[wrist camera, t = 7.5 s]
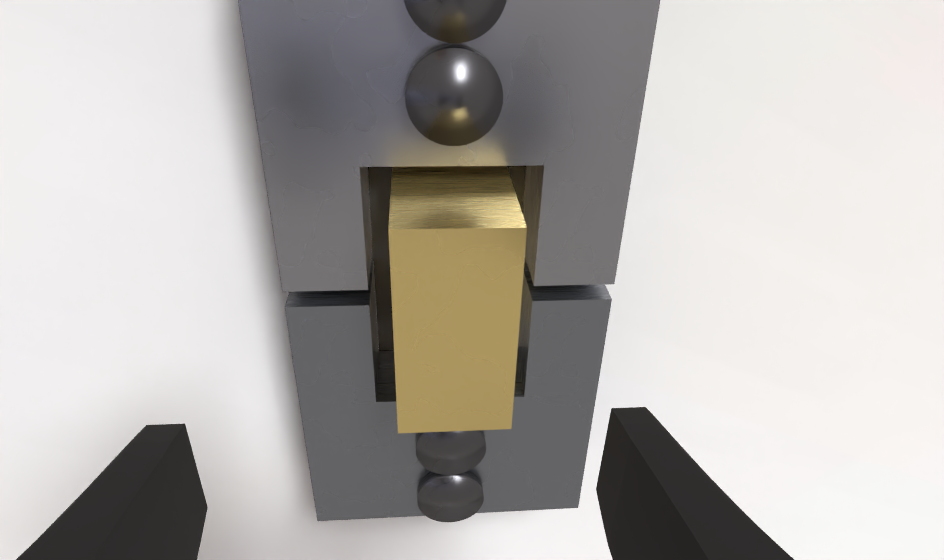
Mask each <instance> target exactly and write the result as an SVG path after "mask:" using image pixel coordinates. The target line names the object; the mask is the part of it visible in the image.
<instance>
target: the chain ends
mask: <svg viewBox="0 0 944 560" xmlns="http://www.w3.org/2000/svg"><path fill="white" fill-rule="evenodd" d="M238 3H239V9H240V16H241V22H242V29H243V35H244V42H245V49H246V55H247V62H248V68H249V75H250V81H251V88H252V94H253V101H254V108H255V114H256V121H257V127H258V134H259V140H260V147H261V153H262V160H263V167H264V173H265V180H266V186H267V193H268V199H269V206H270V212H271V219H272V226H273V232H274V239H275V245H276V252H277V258H278V265H279V271H280V278H281V284H282V291H283V292H289V295H288V299H287V302H286V306H285V311H286V317H287V324H288V330H289V337H290V343H291V350H292V357H293V363H294V370H295V376H296V383H297V389H298V396H299V402H300V409H301V416H302V422H303V429H304V435H305V442H306V448H307V455H308V461H309V468H310V475H311V481H312V488H313V494H314V501H315V507H316V514H317V520H318V521H328V520H348V519H367V518H387V517H407V516H427V517H428V518H430V519H433V520H436V521H440V522H456V521H460V520H464V519H466V518H469V517H471V516H472V515H474V514H475V513H485V512H504V511H524V510H543V509H563V508H578V505H579V498H580V492H581V486H582V480H583V474H584V468H585V461H586V455H587V449H588V443H589V437H590V430H591V424H592V418H593V412H594V406H595V400H596V393H597V387H598V381H599V375H600V369H601V363H602V356H603V350H604V344H605V338H606V332H607V325H608V319H609V313H610V307H611V301H612V299H611V297H610V295H609V292H608V290H607V288H606V286H605V284H614V282H615V276H616V270H617V264H618V258H619V251H620V245H621V239H622V233H623V227H624V220H625V214H626V208H627V202H628V196H629V190H630V183H631V177H632V171H633V165H634V159H635V153H636V146H637V140H638V134H639V128H640V122H641V115H642V109H643V103H644V97H645V91H646V85H647V78H648V72H649V66H650V60H651V54H652V48H653V41H654V35H655V29H656V23H657V17H658V11H659V4H660V0H238ZM412 166H526V175H525V189H524V203H523V217H524V220H525V223H526V226H527V235H526V248H525V261H524V273H523V286H522V299H521V312H520V325H519V338H518V350H517V363H516V376H515V389H514V402H513V414H512V427H511V429H499V430H473V431H447V432H421V433H398V424H397V402H396V381H395V360H394V351H379V337H378V321H377V305H376V290H375V274H374V260H371V256H372V247H373V243H372V227H371V212H370V196H369V181H368V167H412Z"/></svg>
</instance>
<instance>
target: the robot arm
mask: <svg viewBox="0 0 944 560" xmlns="http://www.w3.org/2000/svg"><path fill="white" fill-rule="evenodd" d="M596 491H597V496H598V500H599V505H600V510H601V515H602V520H603V524H604V529H605V533H606V538H607V542H608V546H609V549H610V552H611V555H612V558H613V560H794V559H793V558H792V557H791V556H789V555H788V554H787V553H786V552H785V551H784V550H783V549H782V548H781V547H780V546H779V545H778V544H776V543H775V542H774V541H773V540H772V539H771V538H770V537H769V536H768V535H767V534H766V533H765V532H764V531H763V530H762V529H760V528H759V527H758V526H757V525H756V524H755V523H754V522H753V521H752V520H751V519H750V518H749V517H748V516H747V515H746V514H745V513H744V512H743V511H742V510H741V509H740V508H739V507H738V506H737V505H736V504H735V503H734V502H733V501H732V500H731V499H730V498H729V497H728V496H727V495H726V494H725V493H724V492H723V490H722V489H721V488H720V487H719V486H718V485H717V484H716V483H715V482H714V481H713V480H712V479H711V478H710V477H709V476H708V475H707V474H706V473H705V472H704V471H703V470H702V469H701V467H700V466H699V465H698V464H697V463H696V462H695V461H694V460H693V459H692V458H691V457H690V455H689V454H688V453H687V452H686V451H685V450H684V449H683V448H682V447H681V446H680V444H679V443H678V442H677V441H676V440H675V439H674V438H673V437H672V436H671V434H670V433H669V432H668V431H667V430H666V429H665V428H664V427H663V426H662V424H661V423H660V422H659V421H658V420H657V419H656V418H655V417H654V416H653V414H652V413H651V412H650V411H649V410H648V409H647V408H646V407H637V408H612V409H611V414H610V419H609V424H608V430H607V435H606V440H605V445H604V451H603V456H602V461H601V466H600V472H599V477H598V482H597V487H596ZM206 512H207V504H206V500H205V496H204V493H203V489H202V485H201V482H200V478H199V474H198V470H197V467H196V463H195V459H194V456H193V452H192V448H191V445H190V441H189V437H188V433H187V430H186V426H185V424H166V425H146V426H145V427H144V428H143V429H142V430H141V431H140V432H139V433H138V434H137V435H136V436H135V437H134V439H133V440H132V441H131V442H130V443H129V444H128V445H127V446H126V447H125V448H124V449H123V450H122V451H121V452H120V453H119V455H118V456H117V457H116V458H115V459H114V460H113V461H112V462H111V463H110V464H109V465H108V466H107V467H106V468H105V470H104V471H103V472H102V473H101V474H100V475H99V476H98V477H97V478H96V479H95V480H94V481H93V482H92V483H91V484H90V486H89V487H88V488H87V489H86V490H85V491H84V492H83V493H82V494H81V495H80V496H79V497H78V498H77V499H76V500H75V501H74V502H73V503H72V504H71V505H70V506H69V507H68V508H67V509H66V510H65V511H64V512H63V514H62V515H61V516H60V517H59V518H58V519H57V520H56V521H55V522H54V523H53V524H52V525H51V526H50V527H49V528H48V529H47V530H46V531H45V532H44V533H43V534H42V535H41V536H40V537H39V538H38V539H37V540H36V541H35V542H34V543H33V544H32V545H31V546H30V547H29V548H28V549H27V550H26V551H25V552H24V553H23V554H21V555H20V556H19V557H18V558H17V559H16V560H197V556H198V551H199V547H200V542H201V537H202V532H203V527H204V522H205V517H206Z"/></svg>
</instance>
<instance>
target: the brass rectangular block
mask: <svg viewBox="0 0 944 560" xmlns="http://www.w3.org/2000/svg"><path fill="white" fill-rule="evenodd" d="M388 233H389V254H390V275H391V296H392V318H393V339H394V360H395V381H396V402H397V424H398V433H421V432H447V431H473V430H499V429H511V427H512V414H513V402H514V389H515V376H516V363H517V350H518V338H519V325H520V312H521V299H522V286H523V273H524V261H525V248H526V235H527V226H526V223H525V220H524V217H523V214H522V211H521V208H520V205H519V202H518V199H517V195H516V192H515V189H514V186H513V183H512V180H511V177H510V174H509V171H508V168H507V166H412V167H392V181H391V196H390V212H389V227H388Z"/></svg>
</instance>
